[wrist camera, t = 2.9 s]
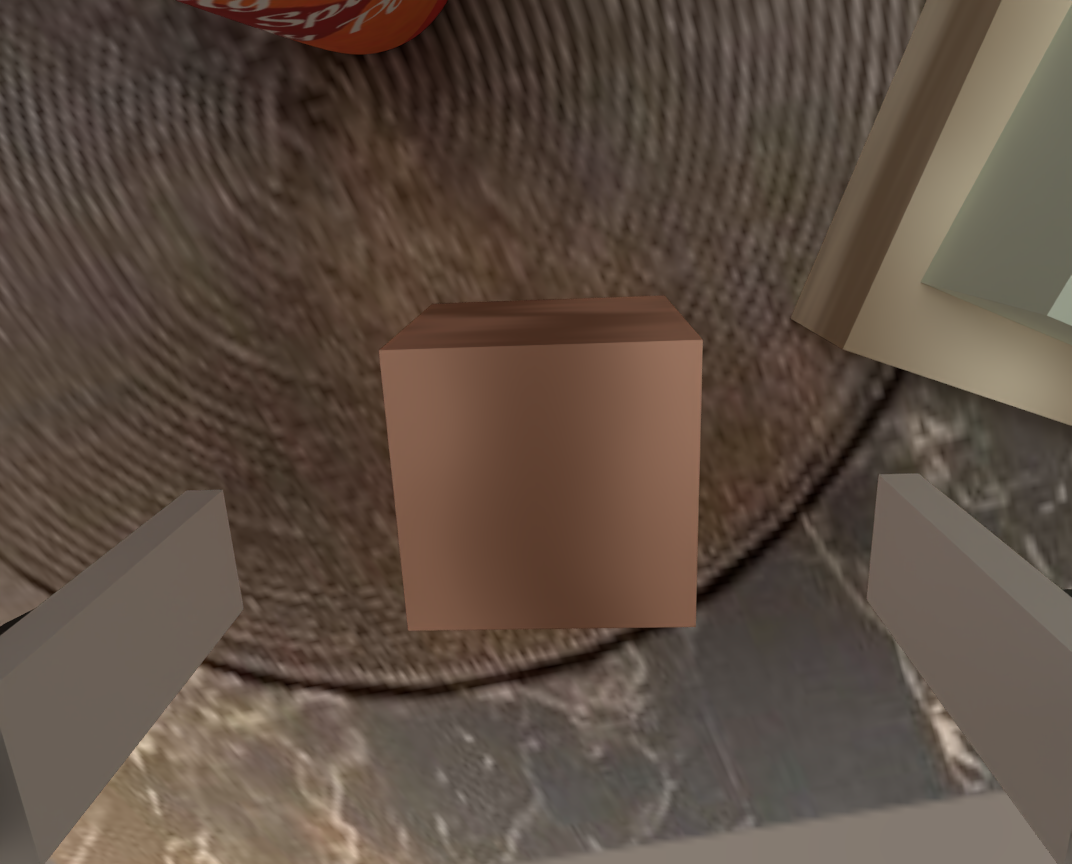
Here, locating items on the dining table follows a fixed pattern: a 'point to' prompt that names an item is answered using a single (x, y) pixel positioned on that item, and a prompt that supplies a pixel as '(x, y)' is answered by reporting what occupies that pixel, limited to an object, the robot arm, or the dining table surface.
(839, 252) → the tower base
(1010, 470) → the dining table surface
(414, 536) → the terracotta cube
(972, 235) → the tower top
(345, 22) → the coffee cup
